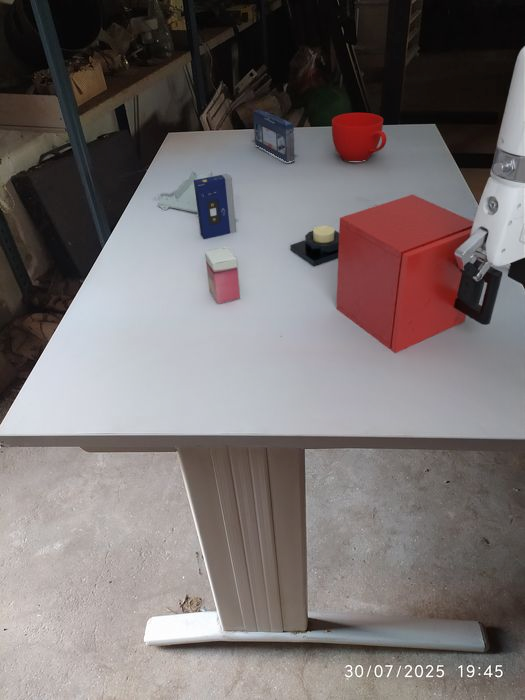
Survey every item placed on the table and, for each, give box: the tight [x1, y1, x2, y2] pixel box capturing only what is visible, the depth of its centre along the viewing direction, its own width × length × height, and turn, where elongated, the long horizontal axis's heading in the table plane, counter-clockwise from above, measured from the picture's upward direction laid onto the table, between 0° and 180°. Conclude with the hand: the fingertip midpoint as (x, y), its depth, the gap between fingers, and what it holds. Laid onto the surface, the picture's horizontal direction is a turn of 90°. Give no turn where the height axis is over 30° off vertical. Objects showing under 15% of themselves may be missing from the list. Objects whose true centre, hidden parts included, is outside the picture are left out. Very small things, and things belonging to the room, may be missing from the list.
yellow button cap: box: [312, 225, 335, 243], centre depth 102 cm, size 4×4×2 cm
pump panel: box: [290, 229, 339, 267], centre depth 103 cm, size 10×8×3 cm
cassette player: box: [194, 173, 237, 240], centre depth 109 cm, size 7×2×12 cm, turn 112°
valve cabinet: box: [335, 194, 474, 350], centre depth 81 cm, size 13×14×16 cm
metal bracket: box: [157, 170, 214, 218], centre depth 125 cm, size 14×6×15 cm
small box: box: [204, 245, 241, 305], centre depth 91 cm, size 5×4×8 cm
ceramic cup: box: [331, 112, 387, 162], centre depth 139 cm, size 13×17×10 cm
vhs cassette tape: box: [252, 109, 296, 162], centre depth 147 cm, size 18×3×10 cm, turn 27°
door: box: [390, 228, 503, 354], centre depth 74 cm, size 7×14×16 cm, turn 121°
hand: (493, 290), depth 73 cm, fingers open, 9 cm apart
